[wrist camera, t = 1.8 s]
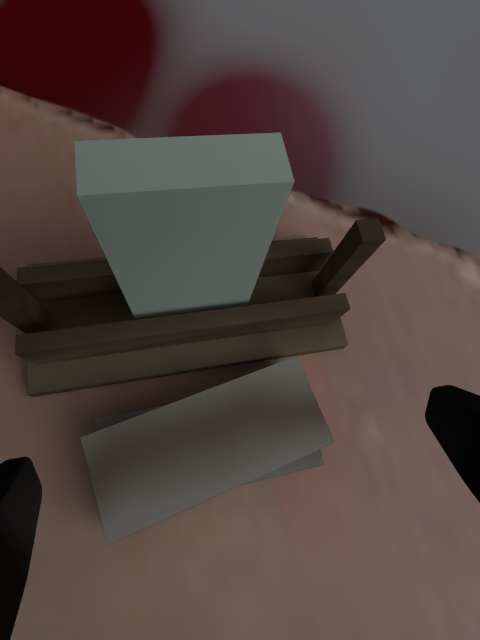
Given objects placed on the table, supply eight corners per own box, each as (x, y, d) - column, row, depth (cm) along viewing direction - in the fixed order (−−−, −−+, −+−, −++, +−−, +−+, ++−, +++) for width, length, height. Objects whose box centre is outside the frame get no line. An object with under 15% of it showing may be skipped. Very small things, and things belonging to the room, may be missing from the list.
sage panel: (244, 314, 22) (294, 181, 11) (139, 327, 21) (76, 195, 10) (238, 285, 23) (280, 132, 12) (136, 297, 22) (74, 140, 11)
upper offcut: (324, 442, 20) (334, 442, 19) (114, 536, 17) (107, 545, 16) (289, 362, 22) (296, 356, 20) (89, 438, 19) (80, 437, 17)
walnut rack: (343, 348, 23) (411, 303, 16) (32, 396, 20) (-61, 368, 13) (313, 243, 26) (360, 163, 18) (33, 270, 22) (-45, 187, 15)
